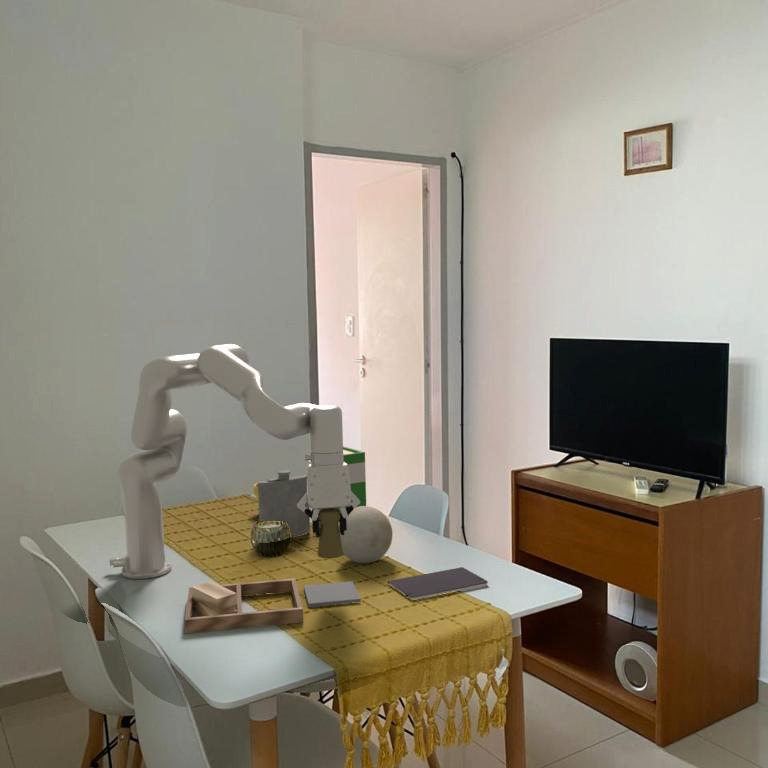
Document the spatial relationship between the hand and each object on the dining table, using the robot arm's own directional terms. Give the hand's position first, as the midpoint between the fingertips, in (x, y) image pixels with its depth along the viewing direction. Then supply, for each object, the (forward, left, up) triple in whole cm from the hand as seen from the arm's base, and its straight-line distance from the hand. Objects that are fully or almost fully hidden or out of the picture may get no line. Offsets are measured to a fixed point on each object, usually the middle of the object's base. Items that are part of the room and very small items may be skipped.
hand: (329, 533), depth 190 cm
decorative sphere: (+12, +23, -15) cm, 30 cm away
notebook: (+26, +1, -16) cm, 31 cm away
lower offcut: (-27, -4, -16) cm, 32 cm away
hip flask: (-7, +52, -15) cm, 55 cm away
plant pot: (-10, +81, -15) cm, 83 cm away
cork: (0, 0, -5) cm, 5 cm away
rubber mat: (0, 0, -15) cm, 15 cm away
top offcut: (-27, -4, -13) cm, 30 cm away
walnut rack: (-21, -4, -15) cm, 26 cm away
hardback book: (+11, +60, -15) cm, 63 cm away
